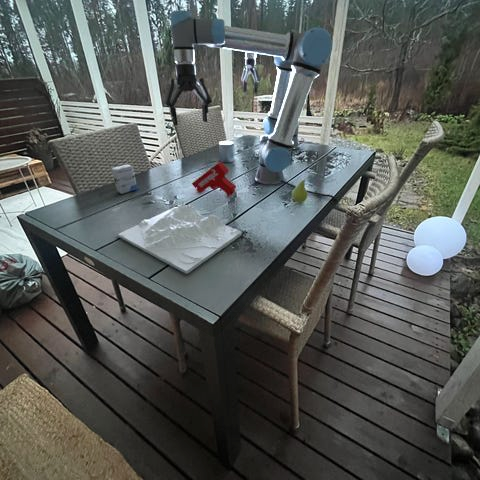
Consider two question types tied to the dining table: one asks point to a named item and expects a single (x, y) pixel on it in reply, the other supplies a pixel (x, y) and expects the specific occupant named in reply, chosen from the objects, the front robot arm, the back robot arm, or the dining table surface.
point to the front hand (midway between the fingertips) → (190, 123)
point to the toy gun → (215, 180)
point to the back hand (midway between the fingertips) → (250, 92)
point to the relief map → (181, 237)
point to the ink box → (124, 178)
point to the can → (226, 151)
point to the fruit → (300, 192)
